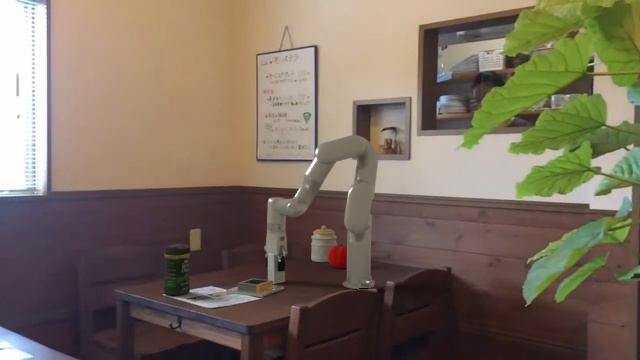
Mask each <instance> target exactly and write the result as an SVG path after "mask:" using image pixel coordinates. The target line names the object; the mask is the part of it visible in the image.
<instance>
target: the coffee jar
mask: <svg viewBox="0 0 640 360" xmlns="http://www.w3.org/2000/svg"><path fill="white" fill-rule="evenodd" d="M190 256H191V247H190V245H189V244H187V243H175V244H170V245H167V246H166V247H165V248H164V260H165V270H164V284H163V294H165V295H167V296H169V295H173V296H183V295H186V294H188V293H190V291H191V283H190V282H191V281H190ZM182 294H183V295H182Z"/></svg>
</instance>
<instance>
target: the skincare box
mask: <svg viewBox="0 0 640 360" xmlns="http://www.w3.org/2000/svg"><path fill="white" fill-rule="evenodd" d="M280 258H281V257H280ZM278 262H279V260H278V258H277V256H275V255H274V254H270V253H269V254H268V268H267V280H273V285H275V284H280V283H281V284H282V283H285V282H286V270H285V271H281V272H278V271H277V270H278Z"/></svg>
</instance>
